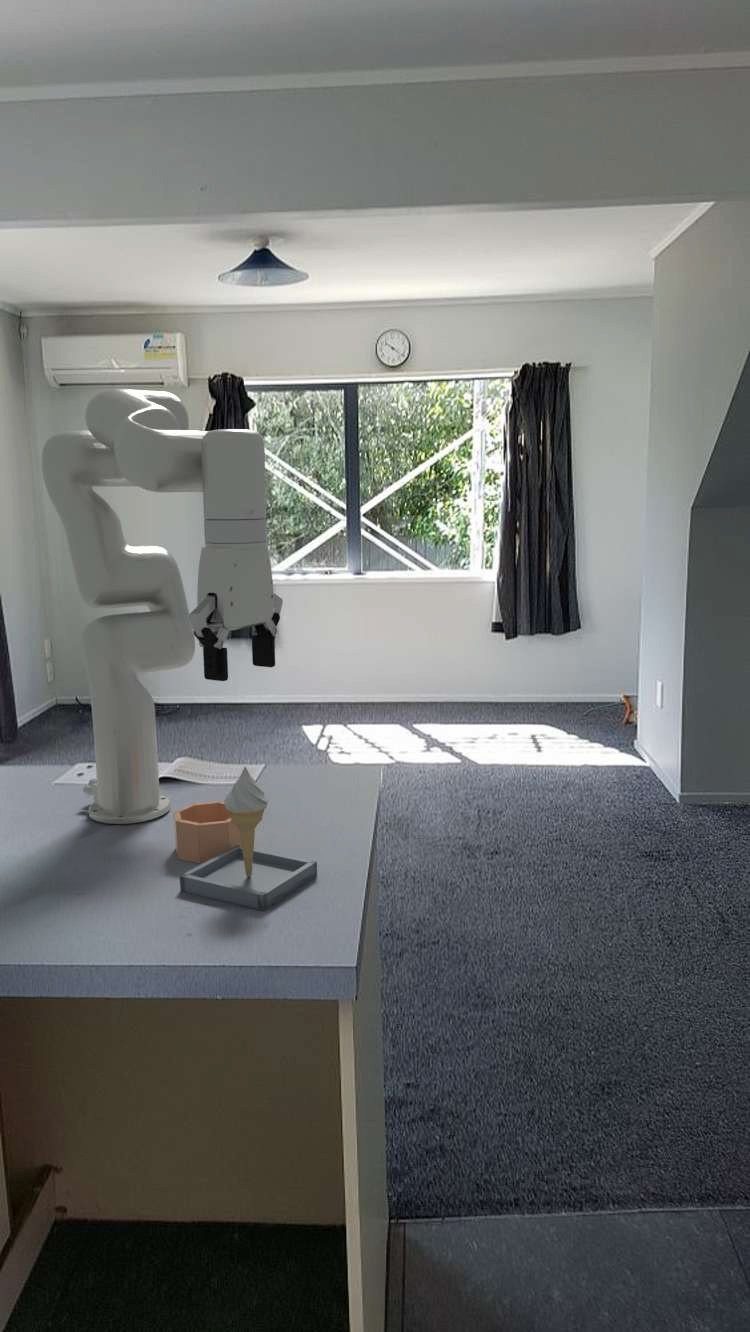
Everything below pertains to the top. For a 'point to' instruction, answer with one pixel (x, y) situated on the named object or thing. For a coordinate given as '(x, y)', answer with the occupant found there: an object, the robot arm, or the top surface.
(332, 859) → the top surface
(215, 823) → the holder cup
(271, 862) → the slate tray
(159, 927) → the top surface
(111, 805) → the robot arm
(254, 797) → the ice cream cone
